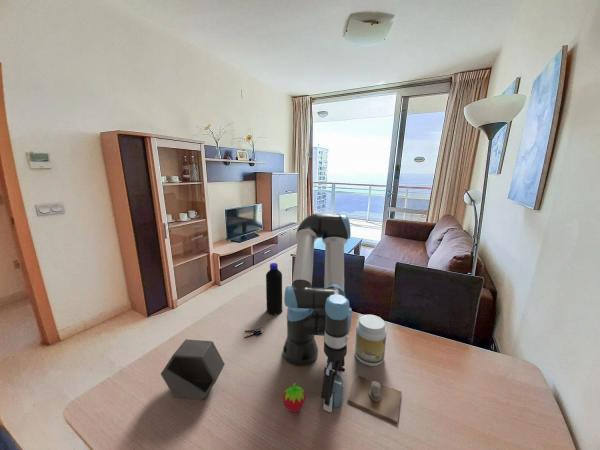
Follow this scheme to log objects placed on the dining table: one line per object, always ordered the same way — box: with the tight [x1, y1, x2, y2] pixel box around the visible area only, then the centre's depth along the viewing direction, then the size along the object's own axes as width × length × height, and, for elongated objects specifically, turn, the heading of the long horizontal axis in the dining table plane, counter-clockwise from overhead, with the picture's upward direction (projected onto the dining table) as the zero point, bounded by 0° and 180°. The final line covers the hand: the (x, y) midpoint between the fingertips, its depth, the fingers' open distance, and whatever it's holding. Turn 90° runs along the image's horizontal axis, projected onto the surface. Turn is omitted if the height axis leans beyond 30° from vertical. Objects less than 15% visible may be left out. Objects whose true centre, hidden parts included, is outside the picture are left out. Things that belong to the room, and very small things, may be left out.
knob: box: [332, 374, 345, 409], centre depth 84 cm, size 7×7×7 cm
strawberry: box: [282, 382, 306, 413], centre depth 79 cm, size 6×7×10 cm
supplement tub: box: [354, 314, 387, 367], centre depth 102 cm, size 12×12×17 cm
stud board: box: [347, 374, 402, 425], centre depth 84 cm, size 16×12×6 cm
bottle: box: [265, 262, 283, 316], centre depth 134 cm, size 9×9×28 cm
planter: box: [160, 339, 225, 401], centre depth 85 cm, size 17×8×21 cm
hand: (332, 397), depth 84 cm, fingers open, 9 cm apart
